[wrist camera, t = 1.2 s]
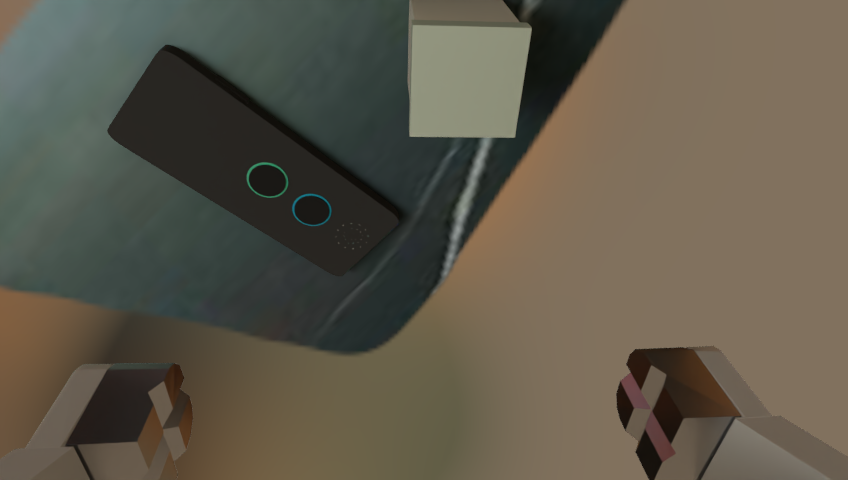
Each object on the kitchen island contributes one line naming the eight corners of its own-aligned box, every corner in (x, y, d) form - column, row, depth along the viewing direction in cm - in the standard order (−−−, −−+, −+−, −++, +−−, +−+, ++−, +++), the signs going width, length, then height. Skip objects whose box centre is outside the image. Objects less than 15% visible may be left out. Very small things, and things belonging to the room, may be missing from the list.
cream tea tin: (406, -11, 32) (412, 24, 26) (502, -8, 33) (531, 28, 26) (404, 84, 36) (409, 136, 29) (491, 86, 36) (514, 137, 30)
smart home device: (338, 281, 44) (101, 137, 35) (339, 268, 46) (112, 126, 37) (404, 220, 41) (162, 44, 32) (403, 208, 42) (171, 35, 33)
